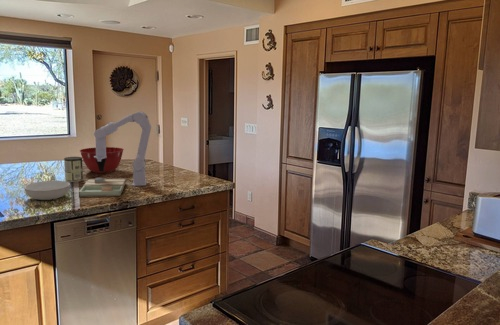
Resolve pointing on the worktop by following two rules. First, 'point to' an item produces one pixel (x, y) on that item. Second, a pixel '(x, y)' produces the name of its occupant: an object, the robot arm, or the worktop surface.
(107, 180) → the birch board
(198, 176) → the worktop surface
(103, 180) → the slate tile
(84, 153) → the mixing bowl
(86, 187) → the box
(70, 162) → the coffee can
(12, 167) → the worktop surface
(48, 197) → the serving bowl
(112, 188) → the terracotta tile
